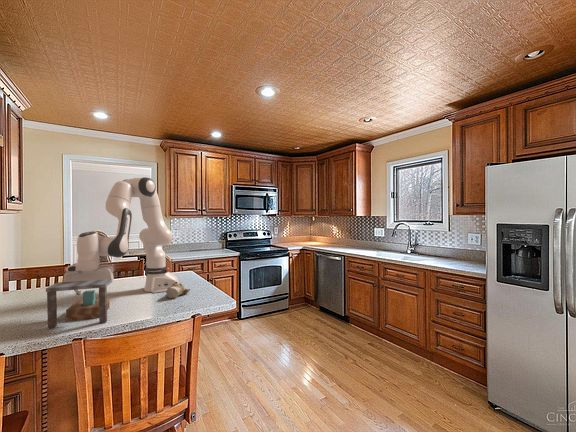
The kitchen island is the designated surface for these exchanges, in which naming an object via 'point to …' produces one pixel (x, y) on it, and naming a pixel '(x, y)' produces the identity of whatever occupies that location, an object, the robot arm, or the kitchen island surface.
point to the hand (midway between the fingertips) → (89, 293)
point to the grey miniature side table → (77, 308)
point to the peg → (89, 297)
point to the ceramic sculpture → (176, 290)
